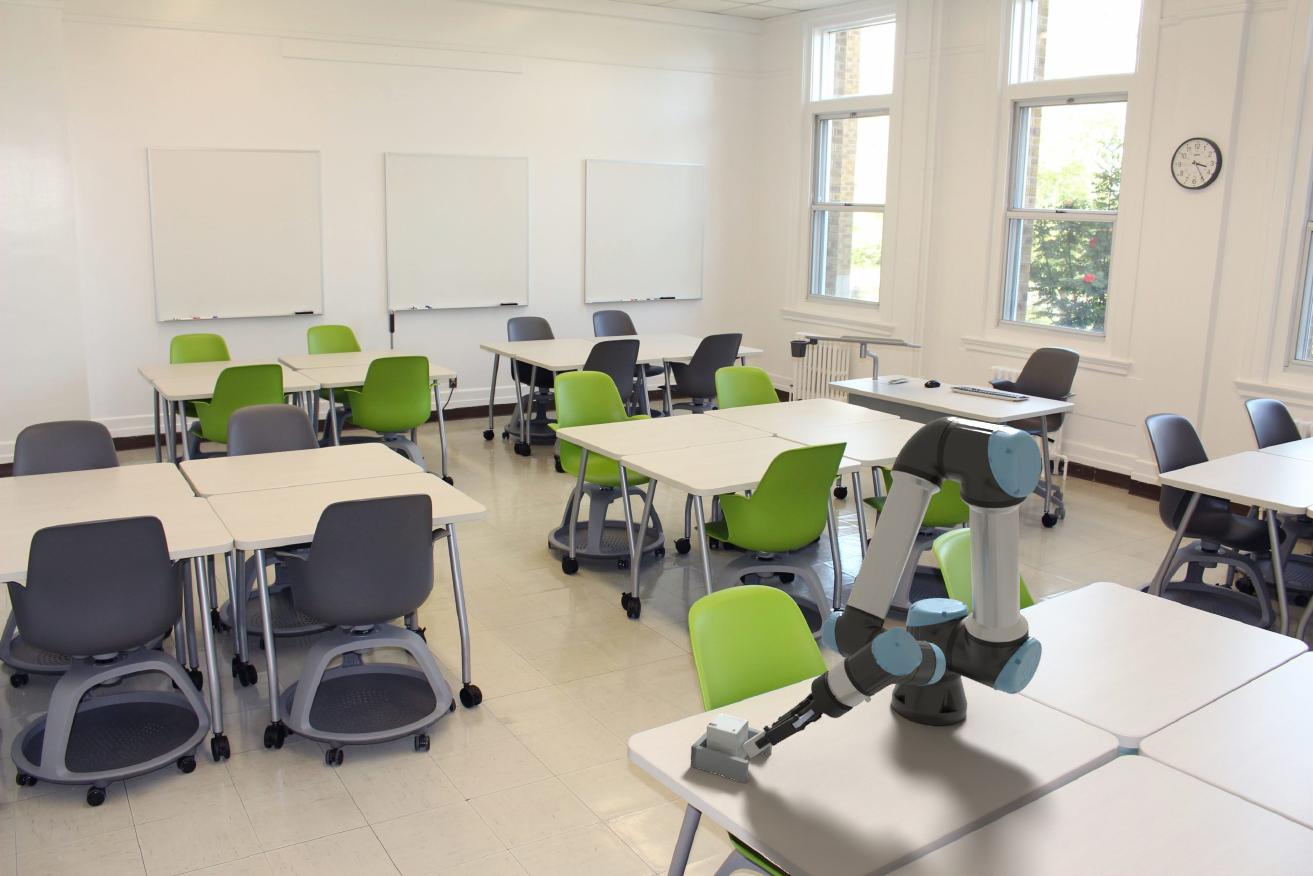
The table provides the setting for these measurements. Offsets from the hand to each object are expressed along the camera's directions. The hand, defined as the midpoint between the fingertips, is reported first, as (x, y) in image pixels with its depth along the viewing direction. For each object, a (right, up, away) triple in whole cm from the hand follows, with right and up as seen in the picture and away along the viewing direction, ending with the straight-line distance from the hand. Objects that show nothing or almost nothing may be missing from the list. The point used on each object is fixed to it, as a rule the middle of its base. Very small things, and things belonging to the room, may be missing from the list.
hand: (748, 750), depth 185 cm
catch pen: (-2, -3, +2) cm, 4 cm away
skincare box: (-4, -3, +3) cm, 5 cm away
